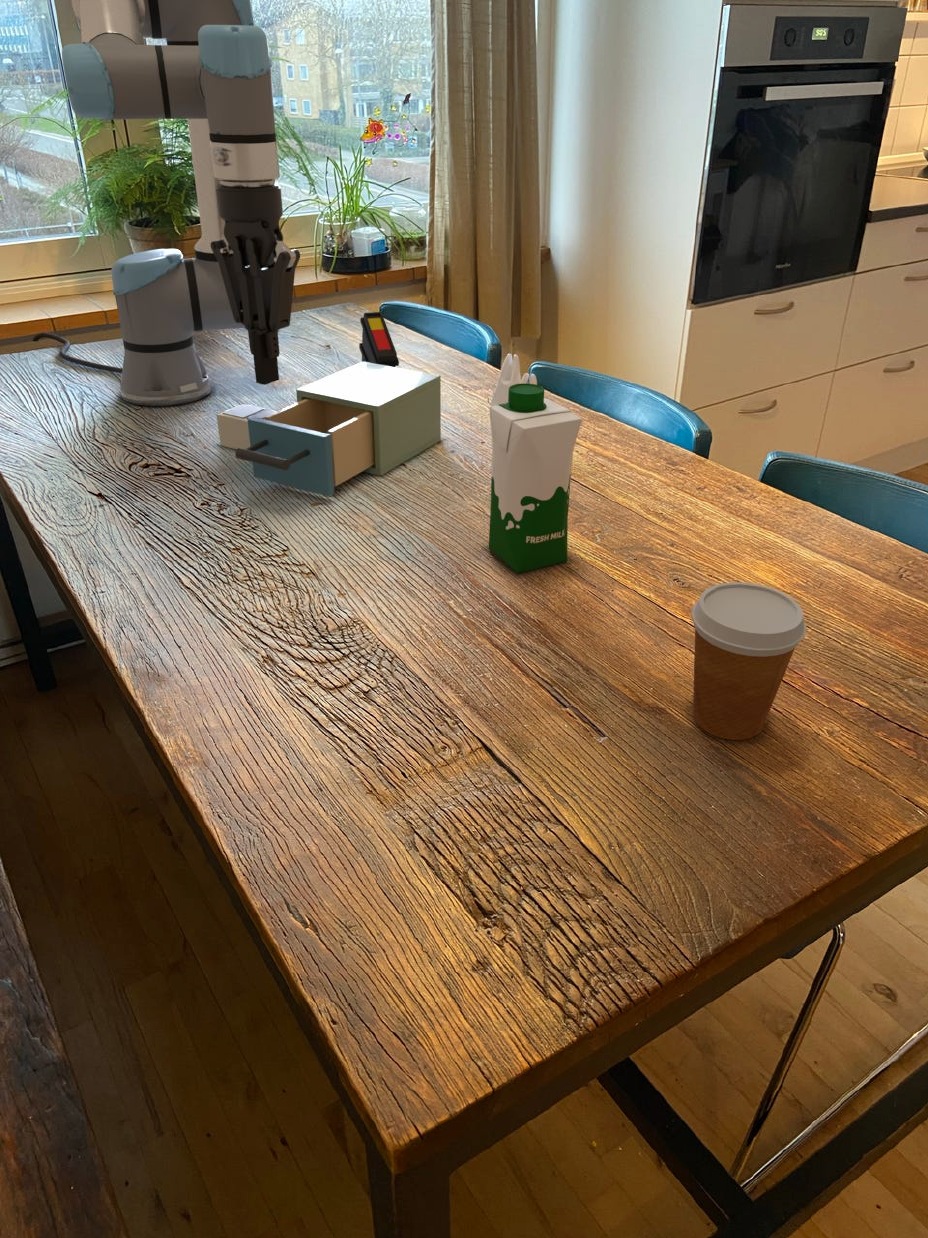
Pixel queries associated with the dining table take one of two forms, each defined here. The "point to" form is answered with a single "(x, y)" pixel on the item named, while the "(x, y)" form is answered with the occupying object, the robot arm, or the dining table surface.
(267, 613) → the dining table surface
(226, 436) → the cream box
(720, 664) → the disposable coffee cup
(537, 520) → the milk carton
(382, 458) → the cabinet
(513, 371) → the shaker set
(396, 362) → the black switch panel
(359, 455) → the drawer
